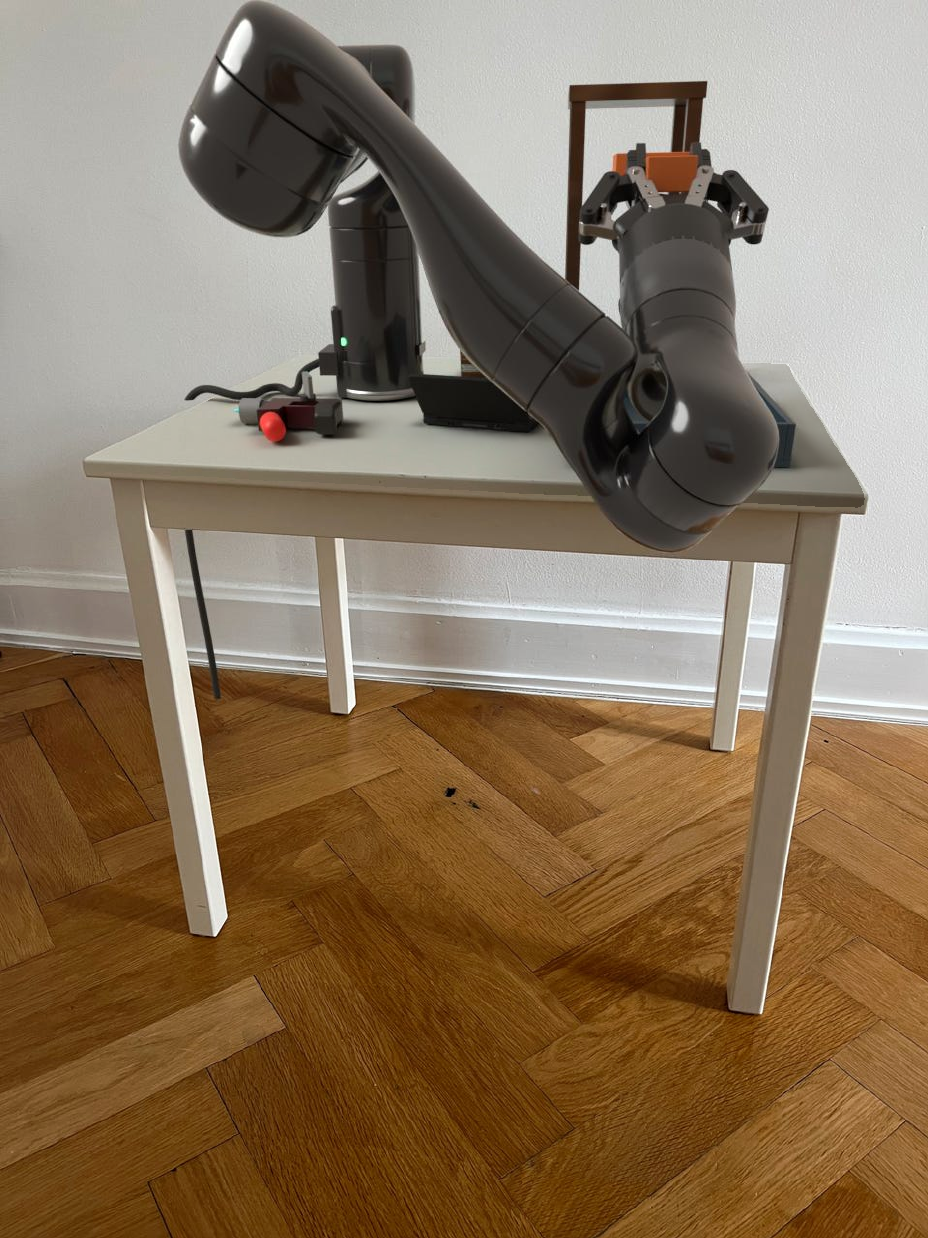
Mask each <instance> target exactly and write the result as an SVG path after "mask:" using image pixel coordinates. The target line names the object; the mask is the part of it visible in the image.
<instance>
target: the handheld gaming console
mask: <svg viewBox="0 0 928 1238" xmlns="http://www.w3.org/2000/svg"><path fill="white" fill-rule="evenodd" d="M409 382H410V384H411V386H412V389H413V391H414V394H415V396H414V397H415V398H416V402H417V403H418V407H419V408H420V410H421V413H422V417H423V418H422V420H423V424H425V425H437V426H448V427H449V426H450V427H462V428H463V427H474V428H475V427H476V428H484V429H488V430H495V431H496V430H498V431H508V432H509V431H510V432H521V433H529V432H530V431H532V429H533V428H535V427H536V426H537V425H538V424H540V423H539V422H538V421H536V420H535V419H534V418H533V417H532V416H530V415H529V414H528V411H524V410H523V409H522V408H521V407H520V406H519V405H518V404H516V403H515V402H514V401H513V400H512V399H511V398H509V397H508V396H507V395H506V394H505V393H504V392H502V391H501V390H500V389H499V388H498V387H497V386H496V385H494V383H492V382H491V381H490V380H489V379H488V378H477V377H462V376H461V375H459V376H458V375H446V374H445V375H444V374H428V373H424V374H410V375H409Z"/></svg>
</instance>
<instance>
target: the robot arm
mask: <svg viewBox="0 0 928 1238" xmlns="http://www.w3.org/2000/svg"><path fill="white" fill-rule="evenodd" d="M414 73H415V72H414V67H413V63H412V60H411V57H410V55H409V53H408V51H407V50H406V49H405V48H404V47H403V46H401V45H397V44H361V45H360V44H357V45H356V44H355V45H352V44H351V45H337V44H336V43H334V42H333V41H332V40H331V39H330V38H328V37H327V36H326V35H324V33H322V32H320V30H318V29H316V28H314V26H312V25H311V24H310V23H308V22H307V21H305V20H303V18H301V17H299V16H297V15H295V14H294V13H293V12H291V11H289V10H287V9H285V8H283V7H281V6H279V5H277V4H274V3H271V2H268V1H264V0H249V1H246V2H244V3H243V4H242V5H241V6H240V7H239V8H238V9H237V10H236V12H235V14H234V15H233V17H232V19H231V20H230V22H229V24H228V25H227V28H226V29H225V31H224V33H223V35H222V37H221V39H220V41H219V43H218V44H217V48H216V50H215V53H214V54H213V56H212V58H211V61H210V63H209V65H208V67H207V69H206V71H205V73H204V75H203V77H202V80H201V82H200V84H199V86H198V88H197V90H196V92H195V95H194V96H193V99H192V101H191V103H190V105H189V106H188V109H187V111H186V113H185V115H184V117H183V121H182V123H181V128H180V132H179V137H178V143H177V148H178V155H179V156H178V157H179V161H180V165H181V168H182V170H183V173H184V175H185V176H186V178H187V180H188V182H189V183H190V185H191V186H192V188H193V189H194V190H195V191H196V193H197V194H198V196H199V197H200V198H201V200H203V201H204V202H205V203H206V204H207V205H208V206H209V208H211V209H212V210H213V211H214V212H215V213H217V214H218V215H219V216H221V218H223V219H225V220H226V221H228V222H230V223H232V224H233V225H235V226H237V227H239V228H242V229H243V230H246V231H248V232H251V233H255V234H257V235H260V236H264V237H265V236H266V237H271V238H283V239H285V238H286V239H287V238H292V237H297V236H300V235H303V234H305V233H307V232H309V231H310V230H311V229H312V228H313V227H314V226H315V224H317V222H318V221H319V220H320V218H321V217H322V216H323V214H324V213H325V211H326V209H327V220H328V226H329V231H328V232H329V241H330V242H329V243H330V252H331V253H330V254H331V267H332V281H333V290H334V291H333V292H334V293H333V294H334V305H332V306H331V308H330V319H331V320H330V321H331V332H332V333H331V334H332V343H329V344H327V345H326V346H325V347H323V348H322V349H320V350H319V351H318V352H317V355H318V358H316V359H314V360H312V361H310V362H308V363H307V364H305V365H304V366H303V367H301V368H300V369H299V370H298V372H297V374H296V376H295V381H294V385H293V386H292V387H289V386H287V385H286V384H283V383H278V382H273V383H272V382H271V383H267V384H262V385H261V386H259V387H258V388H256V389H254V390H249V391H236V390H231V389H227V388H224V387H222V386H221V387H220V386H217V385H213V384H201V385H199V386H196V387H194V388H193V389H191V390H190V391H189V392H188V393H187V395H186V396H185V398H184V401H194V400H196V398H197V397H199V396H201V395H203V394H213V395H216V396H220V397H222V398H223V397H224V398H225V399H226V398H227V399H231V400H235V401H240V400H241V399H242V398H261V397H262V396H264V395H265V394H267V393H271V392H280V393H282V394H283V395H286V396H289V397H294V396H296V395H298V394H299V393H300V392H301V390H302V389H303V380H302V372H305V371H307V372H308V373H309V374H310V373H311V372H312V371H314V370H316V369H318V368H319V375H320V376H327V377H332V376H333V377H334V376H335V380H336V392H337V398H346V399H347V398H348V399H352V400H359V401H371V402H372V401H373V402H374V401H377V402H378V401H379V402H380V401H396V400H403V399H408V398H413V397H416V396H415V394H414V391H413V389H412V386H411V384H410V382H409V375H410V374H425V371H424V357H423V354H424V353H425V352H426V351H427V349H426V346H427V345H426V340H424V341H423V329H422V308H421V307H422V305H421V303H422V302H421V277H420V261H421V264H422V268H423V271H424V274H425V276H426V277H425V278H426V280H427V283H428V286H429V288H430V291H431V294H432V297H433V299H434V303H435V306H436V308H437V309H438V313H439V315H440V317H441V319H442V323H443V324H444V326H445V328H446V330H447V331H448V334H449V336H450V337H451V338H452V340H453V342H454V343H455V345H456V346H457V348H458V349H459V351H460V350H461V352H462V353H463V354H464V355H465V357H466V358H467V359H468V360H469V361H470V362H471V363H472V364H473V365H474V366H475V367H476V368H477V369H478V370H479V371H480V372H481V373H482V374H483V375H484V376H485V377H486V378H488V379H489V380H490V381H491V382H492V383H494V385H496V386H497V387H498V388H499V389H500V390H501V391H502V392H504V393H505V394H506V395H507V396H508V397H509V398H511V399H512V400H513V401H514V402H515V403H516V404H518V405H519V406H520V407H521V408H522V409H523V410H524V411H528V414H529V415H530V416H532V417H533V418H534V419H535V420H536V421H538V422H539V423H538V424H540V425H541V426H542V427H543V428H544V430H546V432H547V433H548V435H549V436H550V438H551V439H552V441H553V442H554V445H556V448H557V449H558V450H559V451H560V453H561V455H562V456H563V458H564V459H565V460H566V462H567V463H568V464H569V466H570V467H571V469H572V470H573V472H574V473H575V475H576V476H577V478H578V479H579V481H580V482H581V484H582V485H583V486H584V488H585V489H586V491H587V492H588V494H589V495H590V497H591V499H592V500H593V501H594V503H595V504H596V506H597V507H598V509H599V510H600V512H602V514H603V515H604V516H605V518H606V519H607V520H608V521H609V522H610V524H611V525H612V526H613V527H614V528H615V529H616V530H617V531H618V532H619V533H621V534H622V535H623V536H625V537H626V538H627V539H628V540H630V541H631V542H634V543H635V544H637V545H639V546H641V547H643V548H645V549H648V550H650V551H655V552H658V553H664V554H667V553H668V554H678V553H682V552H685V551H688V550H690V549H692V548H694V547H695V546H696V545H698V544H699V543H700V542H701V541H702V540H704V539H705V538H706V537H707V536H708V535H710V533H711V532H712V531H714V530H715V529H716V528H717V527H718V526H719V525H720V524H721V523H722V522H723V521H724V520H725V519H726V518H728V517H729V516H730V515H731V514H732V513H733V512H734V511H735V510H736V509H738V508H739V507H740V506H741V505H742V504H743V503H744V502H745V501H746V500H747V499H748V498H750V497H751V496H752V495H753V494H754V493H755V492H756V491H757V490H758V489H759V488H760V487H761V486H762V485H764V483H765V482H766V480H767V479H768V478H769V476H770V475H771V474H772V471H773V470H774V468H775V467H774V465H775V462H776V458H777V453H778V448H779V430H778V427H777V423H776V421H775V419H774V417H773V415H772V413H771V411H770V410H769V408H768V407H767V405H766V404H765V402H764V401H763V399H762V398H761V396H760V395H759V393H758V391H757V390H756V388H755V386H754V384H753V382H752V381H751V379H750V377H749V375H748V373H749V372H748V371H747V370H746V368H745V366H744V364H743V363H742V361H741V359H740V356H739V355H740V354H739V346H738V339H737V331H736V311H737V298H736V289H735V282H734V275H733V265H732V259H731V250H730V245H731V243H732V241H734V240H737V239H740V238H742V239H743V240H744V241H745V243H747V244H749V245H753V246H754V245H755V246H756V245H759V244H761V243H762V241H763V236H764V232H765V228H766V222H767V220H768V215H769V211H770V210H769V209H770V208H769V206H768V205H767V204H766V203H765V201H764V200H763V199H762V198H761V197H760V196H759V195H758V193H756V191H755V190H754V189H753V187H752V186H751V185H750V184H749V183H748V182H747V180H745V178H744V177H743V176H742V175H741V173H739V172H738V171H737V170H734V169H727V170H724V171H723V172H722V174H720V173H716V172H715V169H714V167H713V165H712V159H711V158H712V157H711V152H710V150H708V149H707V148H702V142H701V141H700V142H693V143H691V147H690V154H689V156H690V155H697V156H698V165H697V177H696V178H693V181H692V184H691V187H690V190H689V193H681V194H675V195H669V194H667V193H662V192H658V191H657V189H656V186H655V184H654V182H653V180H652V178H649V179H647V176H646V174H645V171H646V153H647V147H646V146H647V144H646V142H637V143H636V144H635V149H629V150H628V151H627V152H626V153H627V161H626V174H624V175H621V176H620V174H619V173H618V172H615V171H612V170H610V171H606V172H604V173H603V175H602V177H601V178H600V179H599V181H598V182H597V183H596V185H595V187H594V188H593V190H592V191H591V192H590V194H589V196H588V197H587V198H586V200H584V203H582V207H581V209H580V220H579V242H580V243H581V245H583V246H589V245H593V244H595V242H596V240H597V238H599V239H604V240H609V241H611V245H612V247H613V249H614V250H615V251H616V252H617V253H618V264H619V265H618V268H619V270H618V271H619V273H618V274H619V298H618V301H617V305H618V307H617V308H618V313H619V316H620V317H619V320H620V325H621V326H620V325H619V324H618V323H617V322H616V321H615V320H613V319H612V318H611V317H610V316H609V315H606V313H605V312H604V311H603V310H602V309H600V308H599V307H598V306H597V305H596V304H595V303H593V302H592V301H591V300H590V299H589V298H587V296H586V295H584V294H583V293H582V292H580V290H579V291H578V290H577V289H576V288H575V287H573V286H572V285H571V284H570V283H569V282H568V281H566V280H565V277H563V276H562V275H561V274H560V273H558V272H557V271H556V270H555V269H554V268H553V267H551V266H550V265H549V264H548V263H547V262H545V261H544V260H543V259H542V258H541V257H540V256H539V255H538V254H537V253H536V252H535V251H534V250H533V249H531V248H530V247H529V245H527V244H526V243H525V242H524V241H523V240H522V238H521V237H519V235H517V234H516V233H515V232H514V231H513V230H512V229H511V227H509V226H508V225H507V223H506V222H504V220H503V219H502V218H501V217H500V216H499V215H498V214H497V213H496V212H495V210H493V209H494V208H492V207H491V206H490V205H489V203H487V202H486V200H485V199H484V198H483V197H482V196H481V195H480V194H479V192H477V190H476V189H475V188H474V187H473V186H472V184H470V182H469V181H468V180H467V179H466V178H465V176H463V175H462V174H461V172H460V171H459V170H458V169H457V167H455V166H454V165H453V163H452V162H451V161H450V160H449V159H448V158H447V157H446V156H445V154H444V153H443V152H442V151H441V150H440V149H439V148H438V147H437V146H436V144H434V143H433V142H432V141H431V140H430V138H429V137H427V135H426V134H425V133H424V132H423V131H422V130H421V129H420V128H419V127H418V126H417V124H416V84H415V74H414ZM367 161H370V163H371V164H372V165H373V166H374V167H375V169H376V170H377V171H376V172H375V173H374V174H373V175H372V176H371V177H370V178H368V179H367V180H366V181H364V182H362V183H361V184H359V185H357V186H355V187H353V188H350V189H348V190H345V191H343V192H340V193H338V194H335V193H336V192H337V190H338V188H339V186H340V185H341V184H342V183H343V182H344V181H346V180H347V179H348V178H349V177H350V176H352V175H353V174H355V173H356V172H358V171H359V170H360V169H361V168H362V167H363V166H364V164H365V163H367ZM709 201H710V202H715V203H716V206H717V207H715V206H714V205H712V204H711V203H710V202H709ZM620 203H625V205H626V208H627V210H626V211H625V212H623V213H621V215H620V216H618V217H617V218H616V219H615V220H613V219H612V215H613V214H614V212H615V211H616V209H617V208H618V204H620ZM746 371H747V372H748V373H747V372H746ZM626 388H627V392H628V396H629V398H630V401H631V404H632V405H633V407H634V408H635V410H636V411H637V413H638V414H639V415H640V416H641V417H643V418H644V419H645V420H647V421H649V423H648V424H647V425H646V426H645V427H644V429H643V430H642V431H641V432H640V433H639V432H638V430H637V429H636V427H635V426H634V424H633V422H632V420H631V418H630V417H629V414H628V412H627V410H626V408H625V405H624V395H625V391H626ZM193 531H194V530H193V529H192V530H185V529H184V534H185V540H186V548H187V553H188V559H189V565H190V571H191V577H192V583H193V587H194V592H195V597H196V603H197V609H198V613H199V617H200V623H201V628H202V629H201V630H202V634H203V638H204V639H203V640H204V644H205V650H206V655H207V661H208V666H209V673H210V679H211V685H212V686H211V687H212V692H213V699H214V700H217V701H218V700H220V699H221V698H222V695H221V687H220V681H219V675H218V674H219V673H218V668H217V661H216V656H215V650H214V644H213V638H212V633H211V628H210V623H209V617H208V612H207V608H206V602H205V597H204V591H203V587H202V581H201V575H200V570H199V564H198V558H197V552H196V545H195V539H194V538H195V537H194V532H193Z"/></svg>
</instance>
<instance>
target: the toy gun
mask: <svg viewBox="0 0 928 1238" xmlns="http://www.w3.org/2000/svg"><path fill="white" fill-rule="evenodd" d="M302 380H303V385H302V389H303V393H300V394H299V397H273V398H271V399H270V400H266V399H264V398H262V397H258V398H242V399H241V400H239V402H238V408H236V409H233V410H232V411H233V412H235V413H238V417H239V420H240V422H241V423H242V424H244V425H245V424H247V425H248V424H249V425H250V424H254V425H258V431H259V432H262V433H263V435H264V437H265V438H266V439H267V440H269V441H271V442H279V441H281V440H283V439H284V438H285V436H286V433H287V428H288V429H289V428H291V429H293V428H294V429H315V433H316V434H317V435H322V436H323V435H325V436H326V435H328V436H329V435H331V436H333V435H336V434H337V433H338V425H339V424H342V423H343V422H344V421H345V420H344V410H343V409H344V408H343V400H342V399H340V398H322V397H321V398H317V395H316V393H315V392H314V385H313V376H312V375H311V374H310V372H309V373H308V372H307V371H305V372H302Z"/></svg>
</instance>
